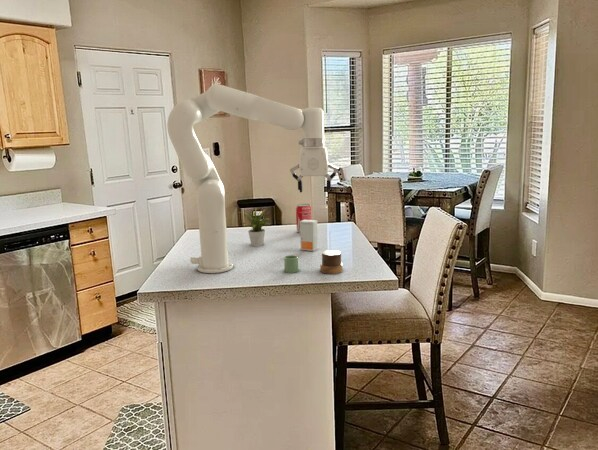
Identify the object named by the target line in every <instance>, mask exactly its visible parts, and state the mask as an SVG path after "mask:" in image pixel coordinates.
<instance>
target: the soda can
mask: <svg viewBox="0 0 598 450" xmlns="http://www.w3.org/2000/svg"><path fill="white" fill-rule="evenodd" d="M295 219H296V220H295V222H296V231H297V232H298V233H299V234H300V221H302V220H312V206H311V204H310V203H298V204H296V207H295Z"/></svg>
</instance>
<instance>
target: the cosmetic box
mask: <svg viewBox="0 0 598 450" xmlns="http://www.w3.org/2000/svg"><path fill="white" fill-rule="evenodd" d="M318 233H319V232H318V220H317V219H316V220H315V219H311V220H302V221H300V233H299V234H300V235H299V237H300V240H299V241H300V250H301V251H308V252H309V251H310V252H315V251H317V250H318V249H319V246H318V245H319V241H318V239H319V238H318V237H319V235H318Z"/></svg>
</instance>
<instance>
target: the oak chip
mask: <svg viewBox="0 0 598 450" xmlns="http://www.w3.org/2000/svg"><path fill="white" fill-rule="evenodd" d="M319 266H320V272H321V273H322V274H325V275H326V274H327V275H336V274H341V273H342V272H343V263H342V262H341V265H339V266H333V267H330V266H324V265H322V262H320V265H319Z"/></svg>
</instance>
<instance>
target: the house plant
mask: <svg viewBox="0 0 598 450" xmlns="http://www.w3.org/2000/svg"><path fill="white" fill-rule="evenodd" d="M266 210H267V209H266V208H265V209H264V208H263V209H261V210H260V211H259V212H258V214H257V206H256V207H255V210H254V211H253V214H252V212H249V213H248V211H247V212H246V211H245V212H244V215H245V216H246V218H247V219H248V220H249V222H250V224H249V223H248V222H243V223H242V225H243V226H244V227H245V226H246V225H247V226H249V227H250V228H251V229H248V231H247V232H248V236H249V240H250V246H252V247H261V246H263V245H264V243H265V235H266V230H265V229H264V228H263V227H264V226H266V227H268V225H270V226H271V224H270V222H267V221H269V220H271V218H265V219H263V217H265V215H267V214H268V213H270V211H268V212H267V213H266V214H265V212H266ZM240 213H241V214H242V212H241V211H239V214H240Z"/></svg>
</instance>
